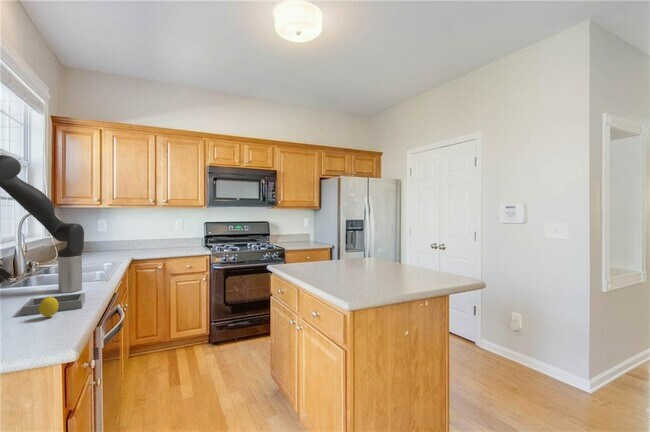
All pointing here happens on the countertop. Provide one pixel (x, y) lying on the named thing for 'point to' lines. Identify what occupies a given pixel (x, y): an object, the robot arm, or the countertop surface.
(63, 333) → the countertop surface
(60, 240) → the robot arm
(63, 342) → the countertop surface
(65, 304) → the tray
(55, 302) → the lemon
